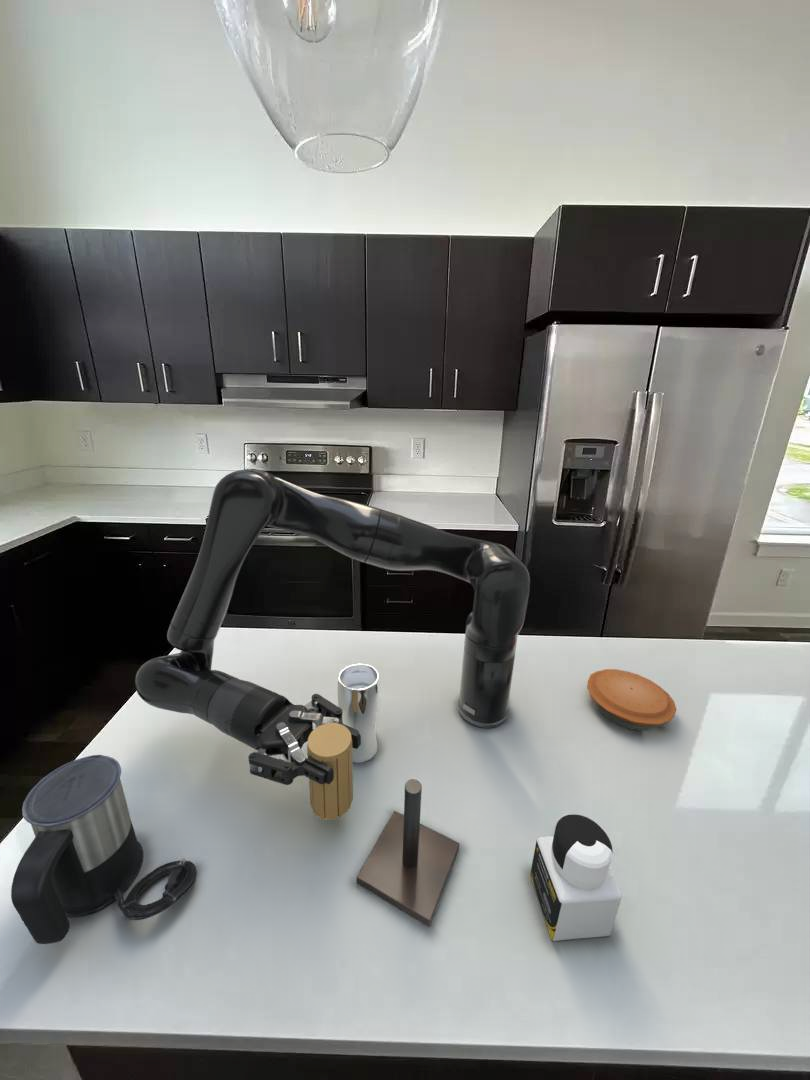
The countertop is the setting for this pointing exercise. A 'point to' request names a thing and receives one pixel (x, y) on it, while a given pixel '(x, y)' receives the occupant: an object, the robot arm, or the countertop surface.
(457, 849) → the peg stand
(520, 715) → the countertop surface
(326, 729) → the grooved tan cylinder
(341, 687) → the chrome tumbler
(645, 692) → the pie
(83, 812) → the milk frother
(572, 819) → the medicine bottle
